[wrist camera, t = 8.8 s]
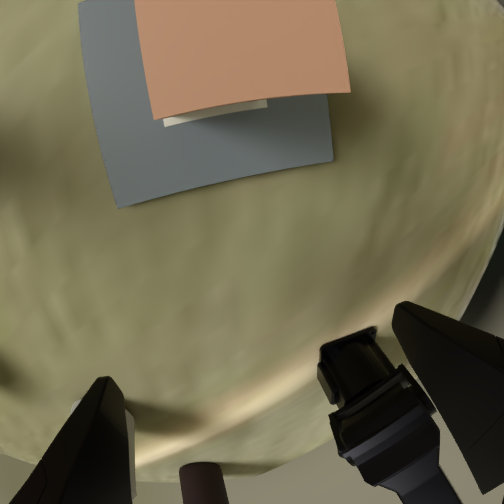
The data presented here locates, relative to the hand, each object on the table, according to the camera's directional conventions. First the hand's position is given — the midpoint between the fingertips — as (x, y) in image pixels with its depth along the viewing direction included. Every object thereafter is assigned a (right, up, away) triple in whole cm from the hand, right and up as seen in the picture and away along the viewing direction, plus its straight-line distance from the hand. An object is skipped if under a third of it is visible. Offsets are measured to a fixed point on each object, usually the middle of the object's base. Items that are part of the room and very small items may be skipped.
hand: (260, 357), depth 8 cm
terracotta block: (-2, +11, +1) cm, 11 cm away
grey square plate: (-3, +14, +7) cm, 16 cm away
